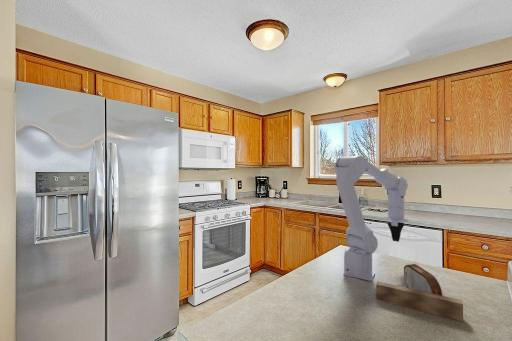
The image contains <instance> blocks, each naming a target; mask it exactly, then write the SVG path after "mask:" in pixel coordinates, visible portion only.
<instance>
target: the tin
mask: <svg viewBox="0 0 512 341" xmlns="http://www.w3.org/2000/svg"><path fill="white" fill-rule="evenodd" d="M403 278H404V281H405V284H406V287H407V288H410V289H415V290H419V291H424V292H428V293H433V294H437V295H442V296H443V291H442V288H441V285H440V282H439V281H438V279H437V278H436V276H434V275H433V274H432V273H430V272H429V271H427V270H425V269H424V268H423V267H421V266H420V265H418V264H416V263H412V264H406V265H404V267H403Z"/></svg>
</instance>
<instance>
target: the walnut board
mask: <svg viewBox="0 0 512 341" xmlns="http://www.w3.org/2000/svg"><path fill="white" fill-rule="evenodd" d="M375 290H376V291H375V300H378V301H382V302H386V303H390V304H393V305H397V306H399V307H404V308H408V309H411V310H416V311H420V312H424V313H428V314H430V315H431V314H432V315H435V316H438V317H443V318H447V319H450V320H454V321H458V322H462V323H464V302H463V300H462V299H459V298H454V297H451V296H446V295H443V294H442V295H437V294H433V293H428V292H424V291H419V290H415V289H410V288H408V287H407V286H401V285H396V284H391V283H387V282H383V281H380V280H377V281H376V284H375Z"/></svg>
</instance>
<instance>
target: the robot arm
mask: <svg viewBox="0 0 512 341" xmlns="http://www.w3.org/2000/svg"><path fill="white" fill-rule="evenodd" d="M333 168H334V171H335V174H336V179H335V180H336V182H335V184H336V186H337V189H338V193H339V194H338V195H339V197H340V200H341V203H342V206H343V210H344V213H345V216H346V219H347V223H348V227H347V229H346V230H345V235H346V236H345V237H346V238H345V239H346V240H345V241H346V243H347V246H349V248H345V250H344V255H343V256H344V257H343V276H346V277H347V276H348V277H352V278H357V279H360V280H365V281H370V282H372V281H373V279H374V276H375V275H376V272H375V271H373V254H374V253H375V252H376V250H377V248H378V245H379V241H378V239H377V237H376V236H375V234H374V231H373V230H372V229H371V228H370V227H369V226H367V225H366V221H365V219H364V218H365V217H364V215H363V212H362V208H361V206H360V205H361V204H360V202H359V198H358V194H357V191H356V187H355V183H356V182H358V181H359V180H360V178H361V177H362V176H363V175H364V174H367V175H369V176H371V177H373V178H374V181H375V182H376V183H378V184H380V185H381V186H383V187H384V189H385V190H386V191H387V218H386V219H387V220H388V221H389V222H387V226H388V228H389V231H390V233H391V234H390V235H391V239H392V241H393V242H400V239H401V234H402V230H403V229H404V226H405V223H404V222H408V221H409V220H408V218H405V197H406V195H407V190H408V188H409V185H408V184H409V183H408V182H407V180H406V179H405V178H404V177H399V176H397V174H395V173H392V172H390V171H389V169H388V168H381V169H380V168H378V167H377V166H375V165H374V164H372V163H371V162H370V161H369V159H368V158H367V157H364V156H363V155H356V156H354V155H353V156H340V157H338V158H337V159H336V162H335V164H334V165H333Z"/></svg>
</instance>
